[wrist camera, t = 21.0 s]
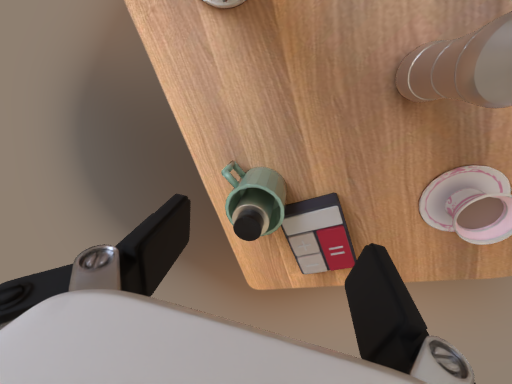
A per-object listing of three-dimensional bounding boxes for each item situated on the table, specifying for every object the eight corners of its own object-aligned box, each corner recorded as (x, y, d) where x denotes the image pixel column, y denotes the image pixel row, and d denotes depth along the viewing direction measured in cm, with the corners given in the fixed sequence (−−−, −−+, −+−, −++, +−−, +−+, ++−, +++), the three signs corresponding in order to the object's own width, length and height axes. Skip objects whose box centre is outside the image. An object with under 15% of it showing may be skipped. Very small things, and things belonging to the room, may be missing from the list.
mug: (297, 195, 39) (296, 218, 32) (259, 219, 43) (251, 244, 36) (253, 141, 37) (241, 154, 30) (216, 172, 41) (199, 190, 33)
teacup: (412, 179, 34) (433, 196, 29) (507, 152, 30) (552, 166, 25) (423, 236, 38) (443, 261, 33) (508, 219, 34) (548, 244, 29)
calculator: (302, 277, 43) (276, 220, 37) (302, 261, 47) (278, 207, 41) (359, 269, 40) (340, 204, 34) (354, 252, 43) (336, 191, 37)
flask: (242, 195, 41) (221, 232, 30) (255, 172, 38) (238, 204, 28) (266, 209, 41) (255, 251, 31) (282, 188, 38) (275, 225, 28)
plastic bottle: (401, 110, 31) (538, 140, 13) (382, 67, 29) (511, 32, 11) (453, 81, 28) (713, 69, 10) (435, 31, 26) (713, -86, 9)
